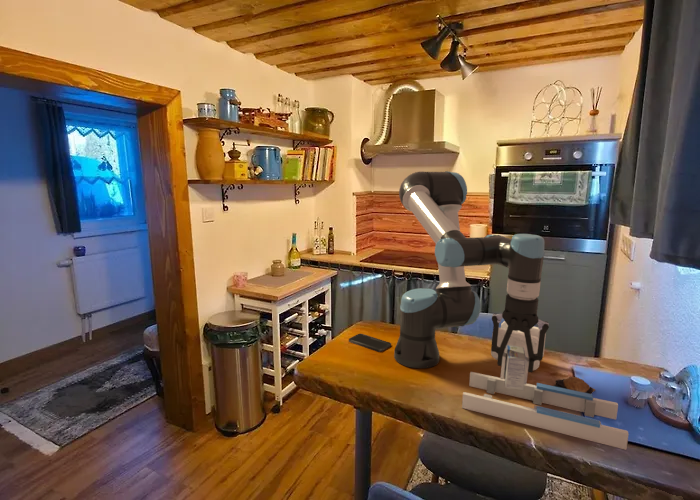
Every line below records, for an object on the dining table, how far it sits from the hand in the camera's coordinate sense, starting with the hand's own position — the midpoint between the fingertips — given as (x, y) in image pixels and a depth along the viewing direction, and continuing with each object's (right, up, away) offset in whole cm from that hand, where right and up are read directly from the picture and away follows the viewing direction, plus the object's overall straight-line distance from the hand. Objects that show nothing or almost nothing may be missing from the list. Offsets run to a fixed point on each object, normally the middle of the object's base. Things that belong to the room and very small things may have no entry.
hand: (513, 379), depth 100 cm
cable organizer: (+13, -3, +27) cm, 30 cm away
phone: (-36, -1, +40) cm, 54 cm away
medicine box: (0, -1, 0) cm, 1 cm away
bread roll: (+22, -7, +10) cm, 25 cm away
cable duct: (+5, -8, -2) cm, 10 cm away
